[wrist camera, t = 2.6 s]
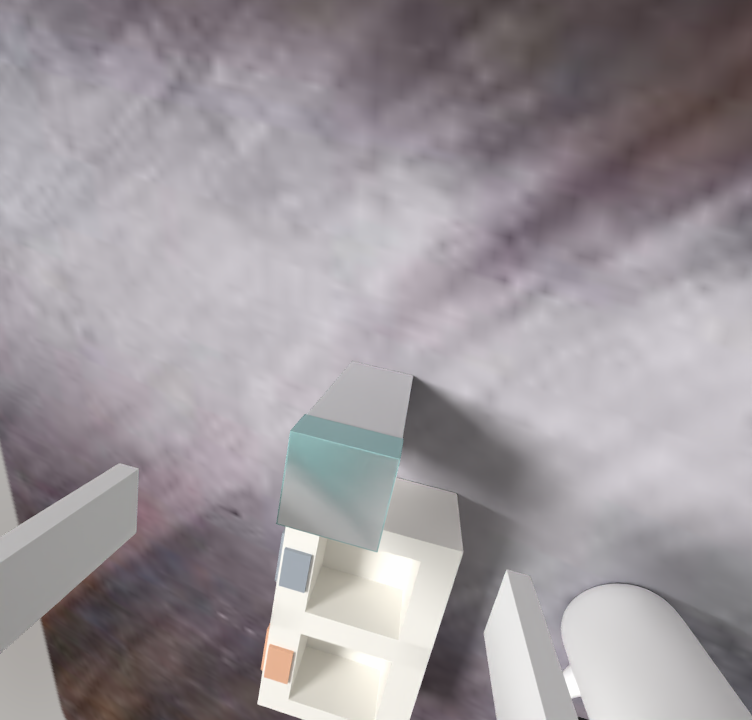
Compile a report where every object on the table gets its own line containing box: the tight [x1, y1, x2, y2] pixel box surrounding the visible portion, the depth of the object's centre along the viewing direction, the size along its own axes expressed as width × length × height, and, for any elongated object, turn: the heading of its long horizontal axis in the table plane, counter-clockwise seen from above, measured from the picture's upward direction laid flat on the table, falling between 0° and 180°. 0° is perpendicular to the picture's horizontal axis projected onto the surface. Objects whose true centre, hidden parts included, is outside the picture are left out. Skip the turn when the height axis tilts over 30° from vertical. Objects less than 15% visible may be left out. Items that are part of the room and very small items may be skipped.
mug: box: [561, 584, 752, 720], centre depth 24 cm, size 9×12×11 cm
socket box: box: [258, 478, 463, 720], centre depth 28 cm, size 18×11×6 cm, turn 168°
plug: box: [276, 361, 413, 552], centre depth 21 cm, size 5×5×12 cm
